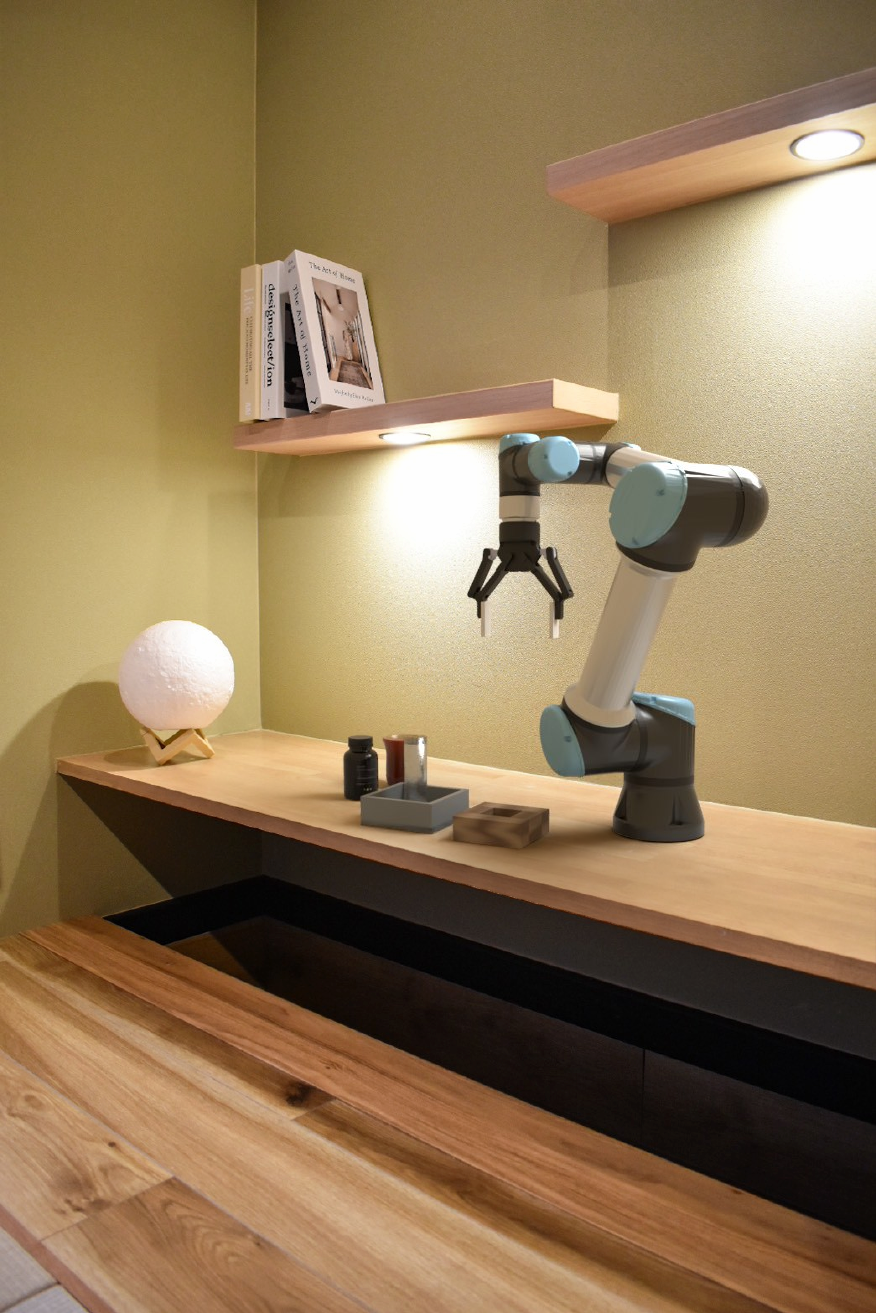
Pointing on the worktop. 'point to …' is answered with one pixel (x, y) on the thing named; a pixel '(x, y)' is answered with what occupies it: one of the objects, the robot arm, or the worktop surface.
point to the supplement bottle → (360, 767)
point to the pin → (415, 768)
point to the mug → (394, 758)
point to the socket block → (501, 824)
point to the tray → (413, 808)
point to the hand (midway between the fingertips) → (519, 637)
